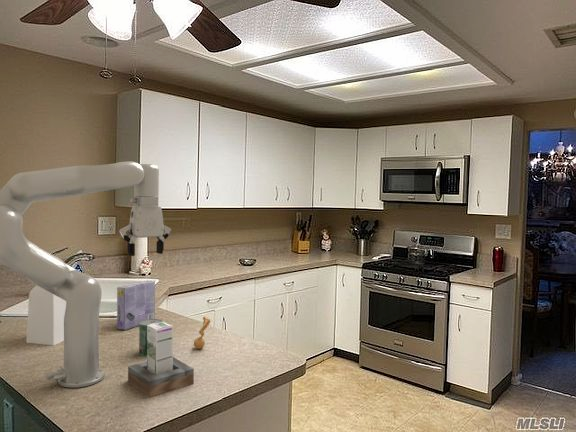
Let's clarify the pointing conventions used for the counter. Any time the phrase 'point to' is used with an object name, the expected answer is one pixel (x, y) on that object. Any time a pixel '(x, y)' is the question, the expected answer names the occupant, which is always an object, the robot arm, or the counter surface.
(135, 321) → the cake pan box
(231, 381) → the counter surface
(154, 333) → the syrup box
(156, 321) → the canned tomato
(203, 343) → the figurine
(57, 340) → the milk
